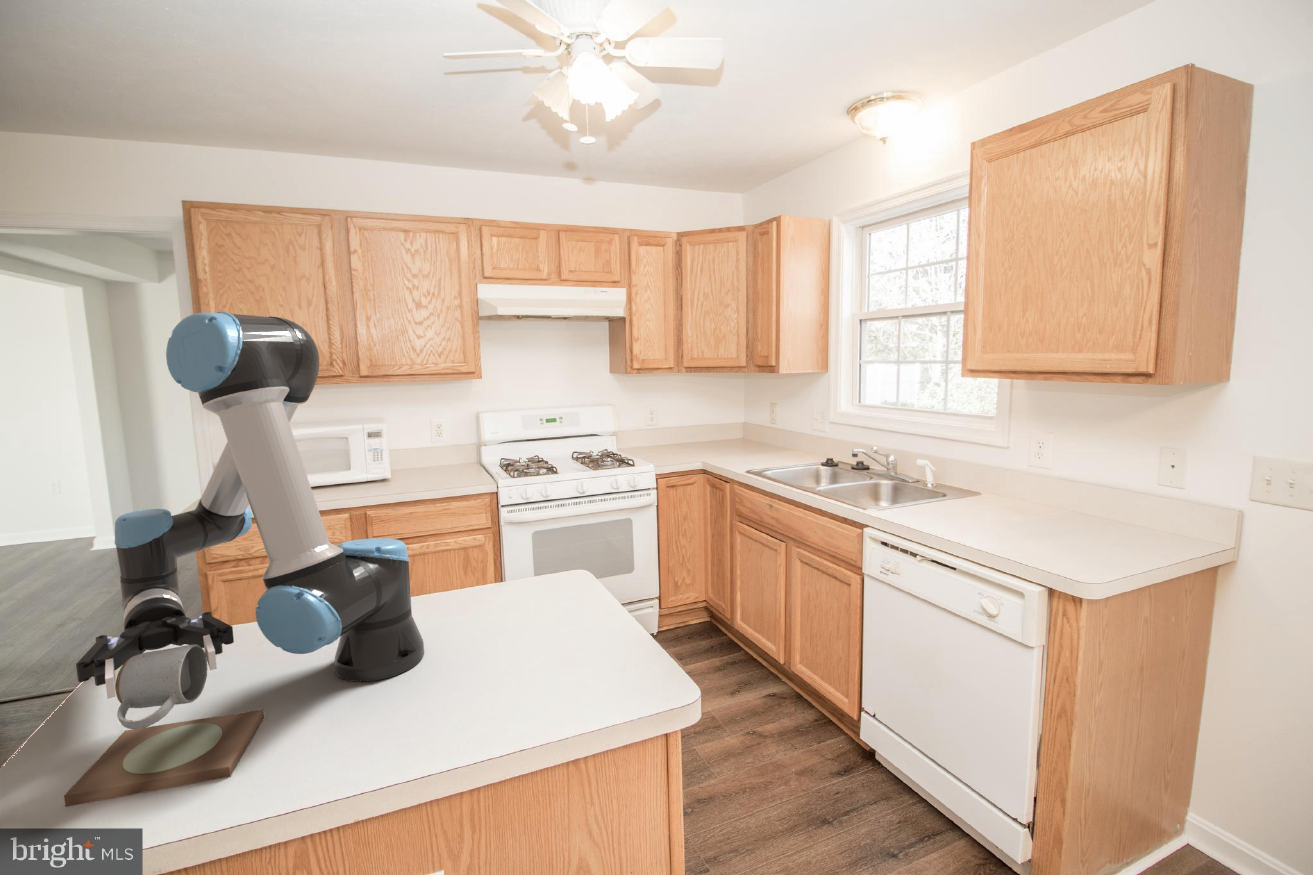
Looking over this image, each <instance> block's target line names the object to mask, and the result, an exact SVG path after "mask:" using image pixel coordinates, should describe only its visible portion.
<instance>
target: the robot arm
mask: <svg viewBox="0 0 1313 875" xmlns="http://www.w3.org/2000/svg"><path fill="white" fill-rule="evenodd" d="M171 332H172V333H171V335H170V337H168V339H167V344H166V351H165V356H166V357H165V358H166V366H167V369H168V371H169V374H170V376H171V377H172V379H173V380H174V382H175V383H176V384H179V385H180V386H181V387H182V388H183V389H185V390H187V391H190V392H192V393H193V392H194V393H198V396H199V399H200V401H201V405H202V408H203V409H205V410H207V411H208V412H211V413H213V414H215V415H217V416H218V417H219V420H220V423H221V426H222V428H223V430H224V431H223V432H224V434H225V437H226V440H227V442H226V444H225V446H224V448H223V450H222V452H221V454H220V457H219V458H218V461H217V463H216V465H215V468H214V469H213V472H212V474H211V475H210V478H209V480H208V482H207V484H206V487H205V489H204V491H203V494H202V495H201V497H200V499H199V500H198V503H197V505H196V507H195V509H192V510H189V511H185V512H182V513H178V514H174V515H172V512H171V511H169V510H168V509H165V508H149V509H148V508H147V509H143V510H134V511H130V512H126V513H124V514H121V515H120V516H118V517H117V518H116V520H115V521H114V545H115V549H116V553H117V559H118V565H119V574H120V575H119V576H120V577H119V579H120V581H119V584H120V591H121V602H122V604H121V605H122V609H123V631H122V632H121V633H120V635H119V636H115V637H112V636H108V635H106V634H101V635H98V636H96V637H95V643H94V644H93V645H92V646H91V647H90V649H88V651H87V652H86V653H85V654H84V655H83V656H82V657H81V658H80V659H79V660H78V662H77V663H76V664H75V668H76V675H77V681H78V683H82V682H87V681H90V680H91V678H93V679H94V685H95V686H96V687H99V686H102V685H105V688H106V689H105V690H106V698H107V700H108V699H109V700H110V699H112V698H116V690H115V685H116V671H117V670H118V669H120V668H121V667H122V665H123V664H124V663H125V662H126V661H127V660H128V659H129V658H131V657H133V656H136V655H139V654H142V653H146V651H157V650H161V649H164V648H165V647H168V646H169V645H174V646H178V647H182V646H185V645H186V646H187V645H194V644H196V645H199V646H200V647H201V648H202V649H203V650H204V652H205V655H206V659H207V666H208V667H209V671H213V670H217V669H218V668H217V658H216V657H217V656H216V655H220V654H221V655H222V653H223V652H224V651H223V649H224V648H223V645H227V646H228V645H232V644H234V642H235V640H234V630H233V626H232V625H231V624H228V623H227V622H224V621H222V620H220V619H218V618H216V617H214V616H213V615H212V611H205V612H203V613H201V616H198V618H196V619H191V618H190V617H188V616H187V615H186V613H185V609H184V608H185V607H184V606H183V603H182V599H181V593H180V586H179V585H180V583H179V577H178V560H177V559H179V558H182V557H185V556H187V555H190V554H193V553H196V552H200V551H202V550H206V549H209V548H211V547H214V546H218V545H221V544H226V543H228V542H232V541H233V540H235V539H237V538H240V537H242V536H244V535H246V534H247V533H248V532H249V531H250V529H251V528H252V526H253V520H252V518H254V520H255V524H256V528H257V530H258V533H259V535H260V538H261V541H262V544H263V547H264V549H265V552H266V555H267V556H266V557H267V559H268V561H269V562H268V566H267V568H266V569H265V571H264V573H263V574H262V576H261V578H262V580H263V583H264V587H265V589H266V591H265V592H264V593H262V595H261V596H260V598H258V601H257V603H256V605H257V607H256V608H255V619H256V623H257V626H258V628H259V630H260V631H261V633H262V634H263V636H264V637H265V639H267V641H268V642H270V643H271V644H272V645H273V646H275V647H276V648H280V649H281V650H282V651H284V652H287V653H290V654H295V655H306V654H310V653H314V652H316V651H318V650H320V649H321V648H323V647H326V646H329V645H331V644H333V643H334V642H335V641H337V640H338V639H339V641H338V645H337V648H336V652H335V655H334V671H335V673H336V674H335V675H336V676H337V677H338V678H341V679H342V680H345V681H350V682H360V683H361V682H362V683H364V682H374V681H379V680H385V679H388V678H391V677H394V676H395V677H396V676H397V675H400V674H403V673H404V672H407V671H408V670H410V669H412V668H414V667H415V666H417V665H418V664H419V663H420V662H421V661H422V660H423V658H424V656H425V645H424V644H425V643H424V638H423V637H422V635H421V632H420V630H419V628H418V626H417V624H416V622H415V620H414V616H413V613H412V612H413V611H412V597H411V581H410V566H409V565H410V563H409V562H410V558H409V554H408V547H407V545H406V543H404V541H402V540H400V539H395V538H388V537H387V538H379V537H378V538H377V537H376V538H362V539H361V538H360V539H353V540H348V541H345V542H341V543H339V545H337V546H336V545H334V544H332V543H331V542H330V539H329V537H328V533H327V531H326V528H325V526H324V522H323V520H322V516H321V514H320V511H319V507H318V504H317V501H316V498H315V494H314V492H313V489H312V487H311V484H310V480H309V478H308V475H307V472H306V469H305V466H304V463H303V460H302V458H301V454H300V451H299V448H298V445H297V442H296V439H295V436H294V434H293V431H292V428H291V424H290V423H291V420H292V419H293V416H294V415H295V412H296V410H297V408H298V407H299V405H303V404H305V403H307V401H309V398H310V396H311V395H312V393H313V391H314V388H315V385H316V383H317V380H318V377H319V371H320V364H321V362H320V354H319V349H318V346H317V344H316V342H315V340H314V339H313V337H312V336H311V335H310V334H309V332H308V331H307V329H305V328H303V327H302V325H300V324H298V323H296V322H295V321H292V320H290V319H288V318H283V317H278V316H260V315H252V314H251V315H249V314H238V313H229V312H227V311H217V312H197V313H192V314H191V315H188V316H186V317H184V318H183V319H182V320H181V321H179V322H178V323H177V324H176V325H175V327H174V328H173V329H172V330H171ZM249 506H250V508H249Z"/></svg>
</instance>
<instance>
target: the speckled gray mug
mask: <svg viewBox="0 0 1313 875" xmlns="http://www.w3.org/2000/svg"><path fill="white" fill-rule="evenodd" d="M207 676H208V662H207V659H206V655H205V650H204V648H201V647H200V646H199V645H196V644H194V645H187V644H186V645H182V646H178V647H172V648H171V647H170V648H165V649H164V648H163V649H157V650H150V651H147V652H146V651H145V652H143V653H142V654H139V655H136V656H133V657H131V658H129V659H128V660H127V661H126V662H125V663H124V664H123V665H122V666H121V667H120V668H119V670H118V673H117V676H116V678H115V697H116V698H117V701H118V702H119V703H120V705H119V707H118V710H117V714H116V715H117V720H118V721H119V723H120V724H121V725H122V727H124V728H126V729H127V730H132V729H141V728H145V727H151V726H152V725H154V724H157V722H160V721H161V720H162V719H163V718H165V717H167V715H168V714H169V713H170V711H171V710H172V709H173V708H174V706H176V705H185V704H190V703H193V702H195V701H196V700H197V699H198V698H199V697H200V696H201V695H202V692H203V690H204V689H205V684H206V682H207ZM154 707H159V708H158V709H157V710H156V711H154V712H153V713H151V714H149V715H148V716H146V717H144V718H142V719H138V720H132V719H127V718H126V715H127V713H128V711H129V709H144V708H154Z"/></svg>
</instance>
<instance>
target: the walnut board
mask: <svg viewBox="0 0 1313 875" xmlns="http://www.w3.org/2000/svg"><path fill="white" fill-rule="evenodd" d="M264 720H265V709H257V710H249V711H243V712H236V713H230V714H224V715H217V716H211V717H206V718H197V719H192V720H185V721H180V722H179V721H177V722H172V723H165V724H160V725H153V726H152V725H151V726H148V727H145V728H141V729H125V730H124V731H123V732H122V733H121V734H120V735H119V736H118V737H117V738H116V739H115V741H114V742H113V743H112V744H111V745H110V746H108V748H107V749H106V750H105V751H104V752H103V753H102V754H101V755H100V757H98V759H97V760H96V761H95V762H94V763H93V764H92V765H91V766H90V767H89V768H88V770H86V772H84V774H83V775H82V776H81V777H80V778H79V779H78V780H77V781H76V782H75V783H74V784H73V785H72V786H71V787H70V789H69V790H68V791H67V792H65V793H64V795H63V798H64V806H65V807H70V806H75V805H80V804H81V805H82V804H87V803H92V802H98V801H102V800H110V799H114V798H119V797H125V796H130V795H135V794H136V795H137V794H141V793H142V794H143V793H146V792H147V793H148V792H152V791H153V792H154V791H158V790H159V791H160V790H164V789H168V788H176V787H180V786H185V785H192V784H196V783H197V784H198V783H202V782H208V781H213V780H219V779H220V780H221V779H225V778H226V779H227V778H230V777H231V776H232V775H233V773H234V771H235V770H236V768H237V766H238V764H239V763H240V761H241V759H242V757H243V756H244V755H245V752H246V751H247V750H248V747H249V746H250V744H251V742H252V740H253V738H254V737H255V735H256V734H257V732H258V730H259V728H260V727H261V725H262V723H263V722H264Z"/></svg>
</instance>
